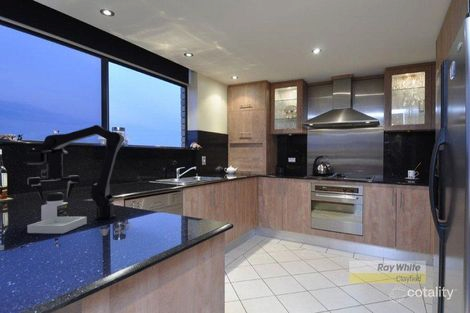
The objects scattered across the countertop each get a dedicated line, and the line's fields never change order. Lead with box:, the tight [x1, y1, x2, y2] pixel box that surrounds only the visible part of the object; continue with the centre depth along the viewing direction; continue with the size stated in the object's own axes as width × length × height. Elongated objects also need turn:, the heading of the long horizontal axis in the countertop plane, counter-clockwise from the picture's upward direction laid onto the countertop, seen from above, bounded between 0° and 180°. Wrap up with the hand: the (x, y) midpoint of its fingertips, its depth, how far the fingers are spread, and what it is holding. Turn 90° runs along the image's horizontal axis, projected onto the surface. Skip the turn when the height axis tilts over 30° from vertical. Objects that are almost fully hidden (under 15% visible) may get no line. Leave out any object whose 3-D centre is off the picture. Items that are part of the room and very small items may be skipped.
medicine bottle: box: [40, 192, 69, 221], centre depth 114 cm, size 7×7×12 cm
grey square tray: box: [27, 216, 88, 234], centre depth 101 cm, size 14×14×3 cm
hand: (55, 199), depth 114 cm, fingers open, 9 cm apart
